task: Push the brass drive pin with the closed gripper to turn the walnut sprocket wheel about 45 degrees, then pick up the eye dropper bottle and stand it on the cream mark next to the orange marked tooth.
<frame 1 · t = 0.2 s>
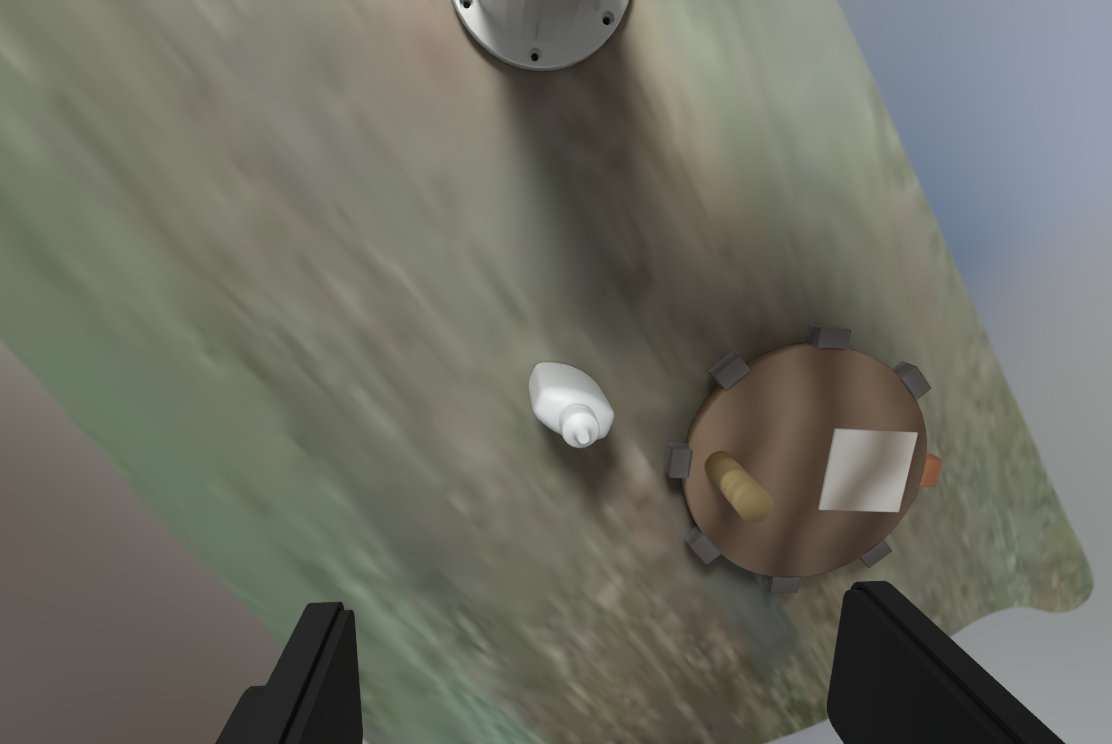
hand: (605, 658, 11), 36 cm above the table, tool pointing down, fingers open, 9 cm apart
eye dropper bottle: (563, 384, 47), on the table
sprocket: (826, 482, 45), point 6 cm above the table, hinge at 0.0°
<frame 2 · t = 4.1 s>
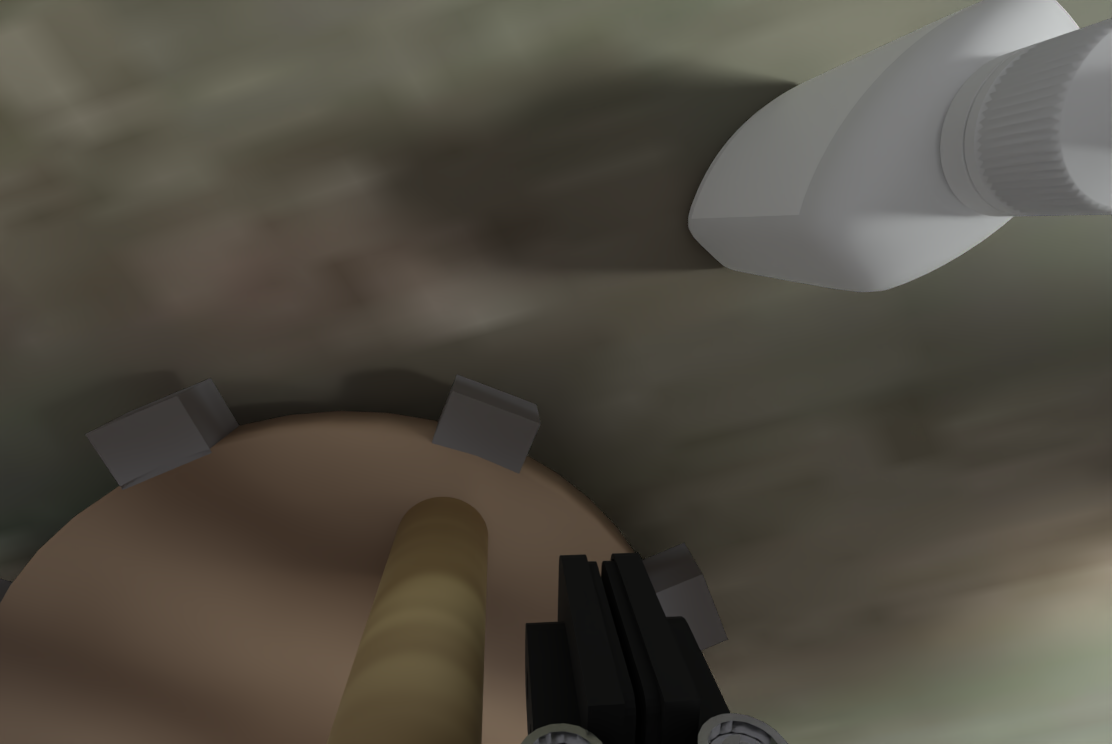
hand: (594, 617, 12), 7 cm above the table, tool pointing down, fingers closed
eye dropper bottle: (763, 179, 18), on the table
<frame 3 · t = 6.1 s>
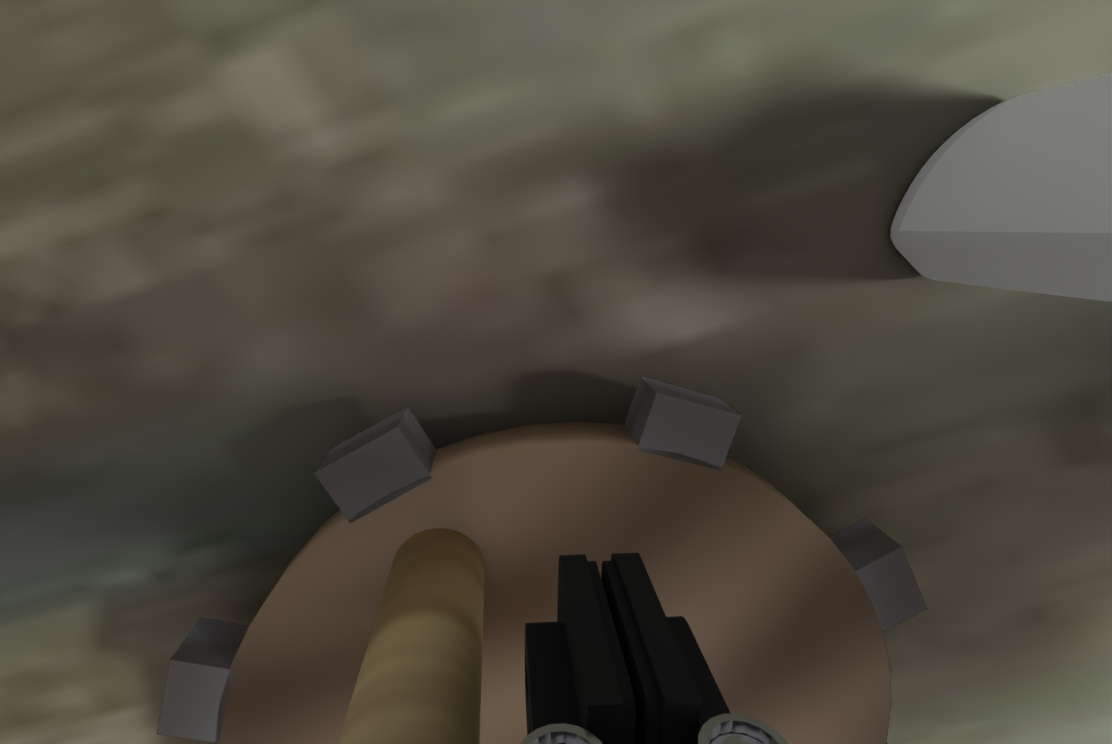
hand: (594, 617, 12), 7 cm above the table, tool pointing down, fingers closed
eye dropper bottle: (959, 191, 18), on the table
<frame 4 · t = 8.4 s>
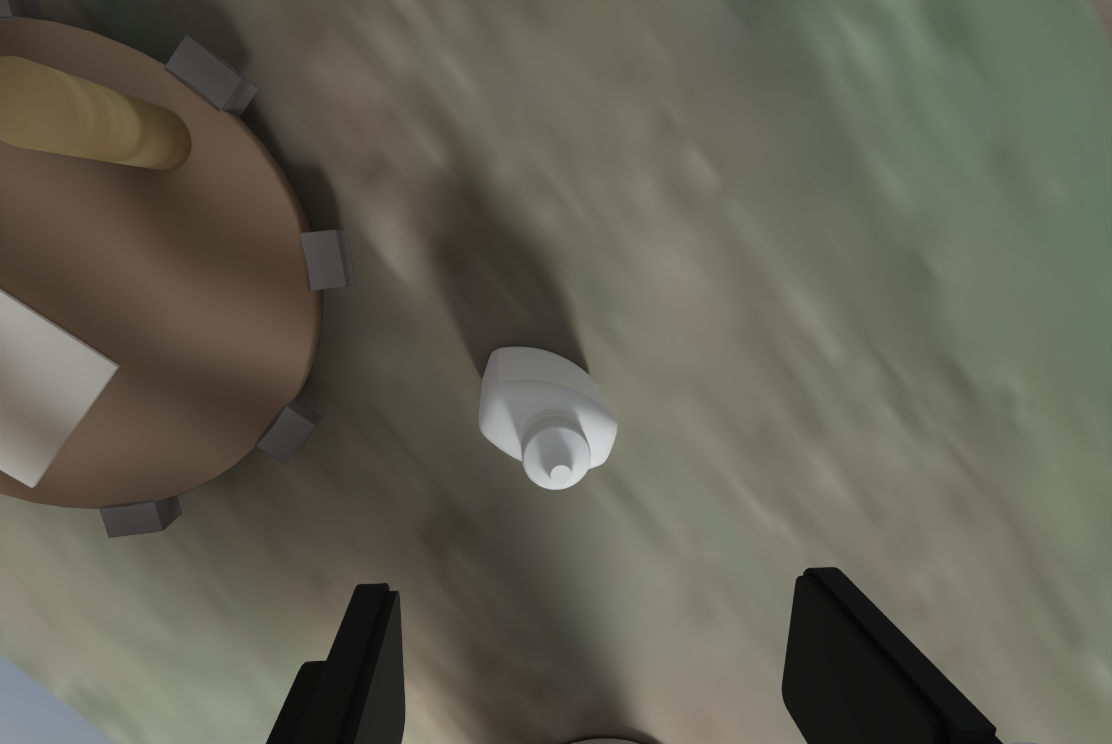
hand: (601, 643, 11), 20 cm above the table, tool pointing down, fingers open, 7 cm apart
eye dropper bottle: (537, 379, 31), on the table
sprocket: (8, 294, 22), point 6 cm above the table, hinge at 51.6°
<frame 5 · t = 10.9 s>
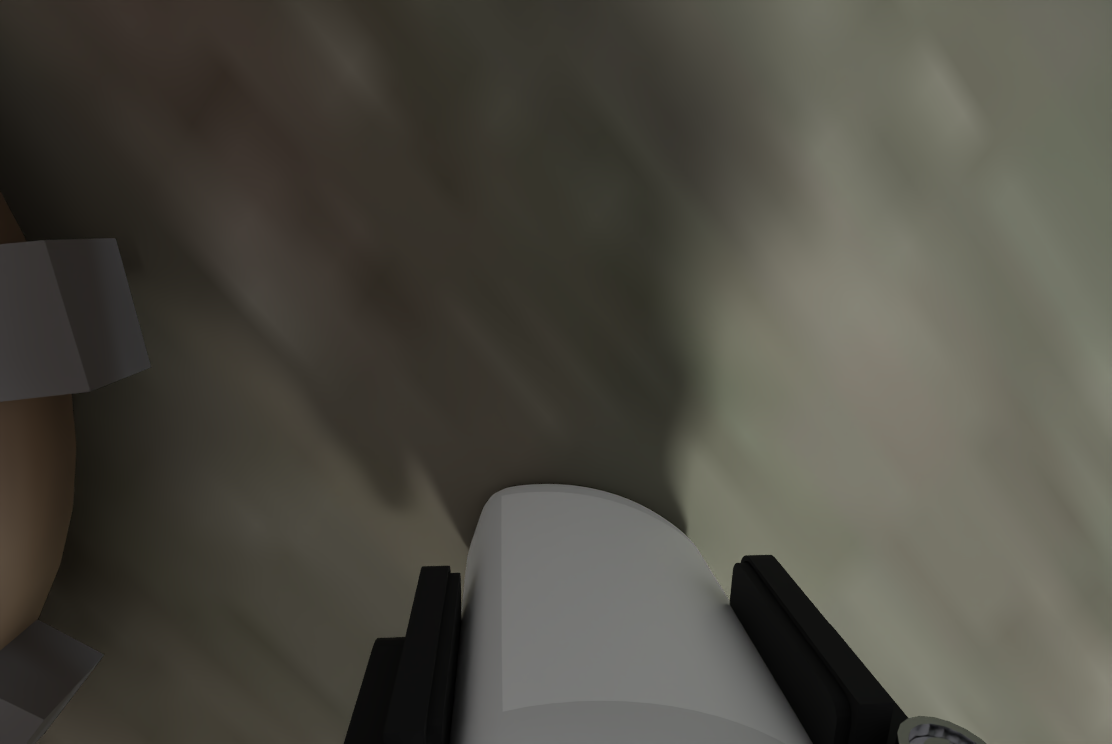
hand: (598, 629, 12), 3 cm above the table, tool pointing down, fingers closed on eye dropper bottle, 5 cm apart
eye dropper bottle: (581, 543, 15), on the table, touching gripper
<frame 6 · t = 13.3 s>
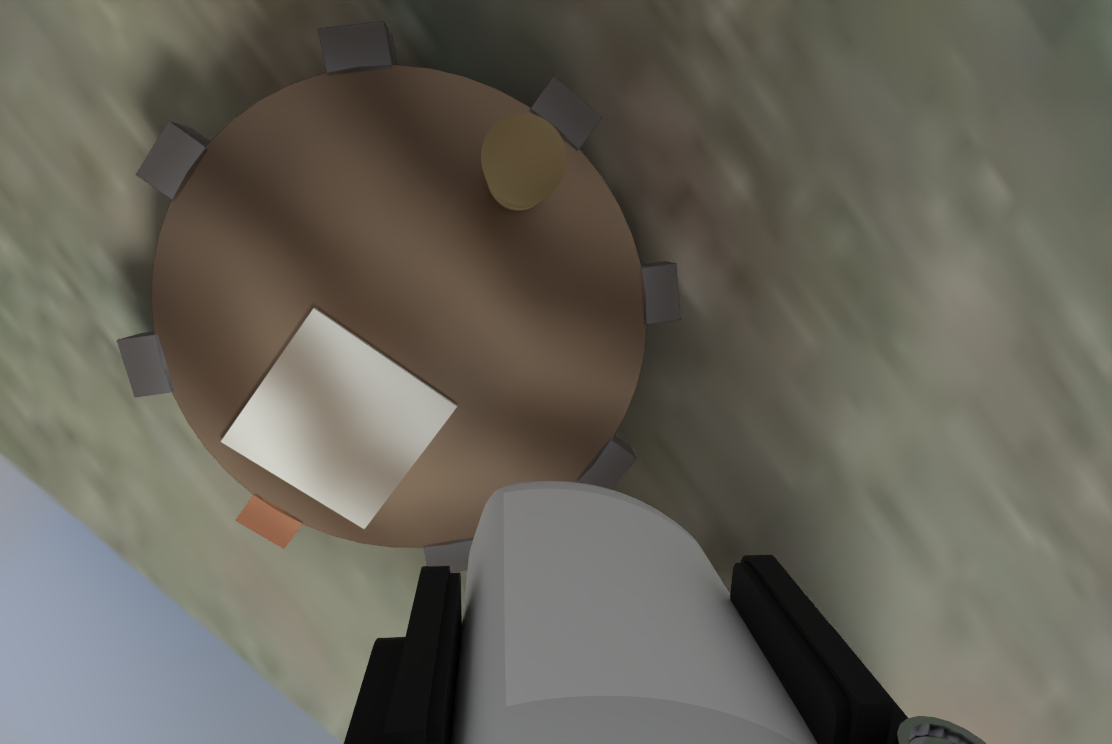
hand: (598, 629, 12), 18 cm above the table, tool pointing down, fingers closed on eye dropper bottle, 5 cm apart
eye dropper bottle: (583, 541, 15), point 14 cm above the table, touching gripper
sprocket: (397, 341, 22), point 6 cm above the table, hinge at 51.6°
when the fingers open (8 cm above the table, at t = 16.1 s): eye dropper bottle drops 1 cm, resting on sprocket.
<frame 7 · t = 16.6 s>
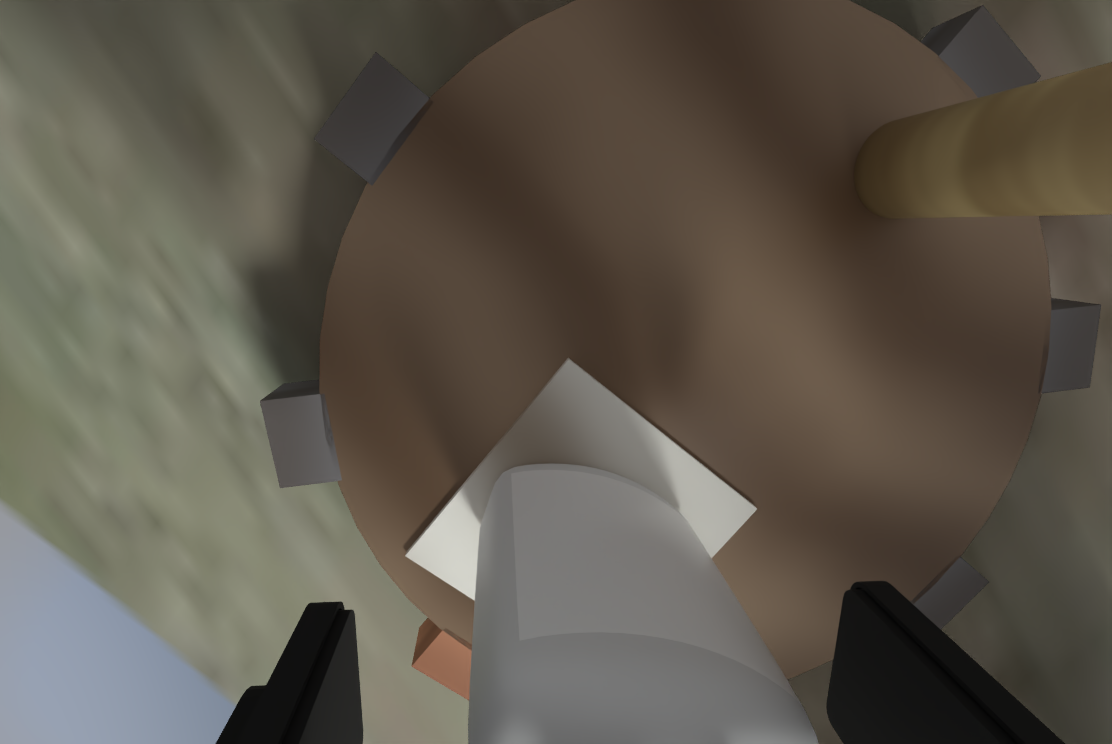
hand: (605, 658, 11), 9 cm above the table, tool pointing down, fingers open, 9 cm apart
eye dropper bottle: (583, 519, 16), point 3 cm above the table, touching sprocket
sprocket: (741, 426, 13), point 6 cm above the table, hinge at 51.6°, touching eye dropper bottle
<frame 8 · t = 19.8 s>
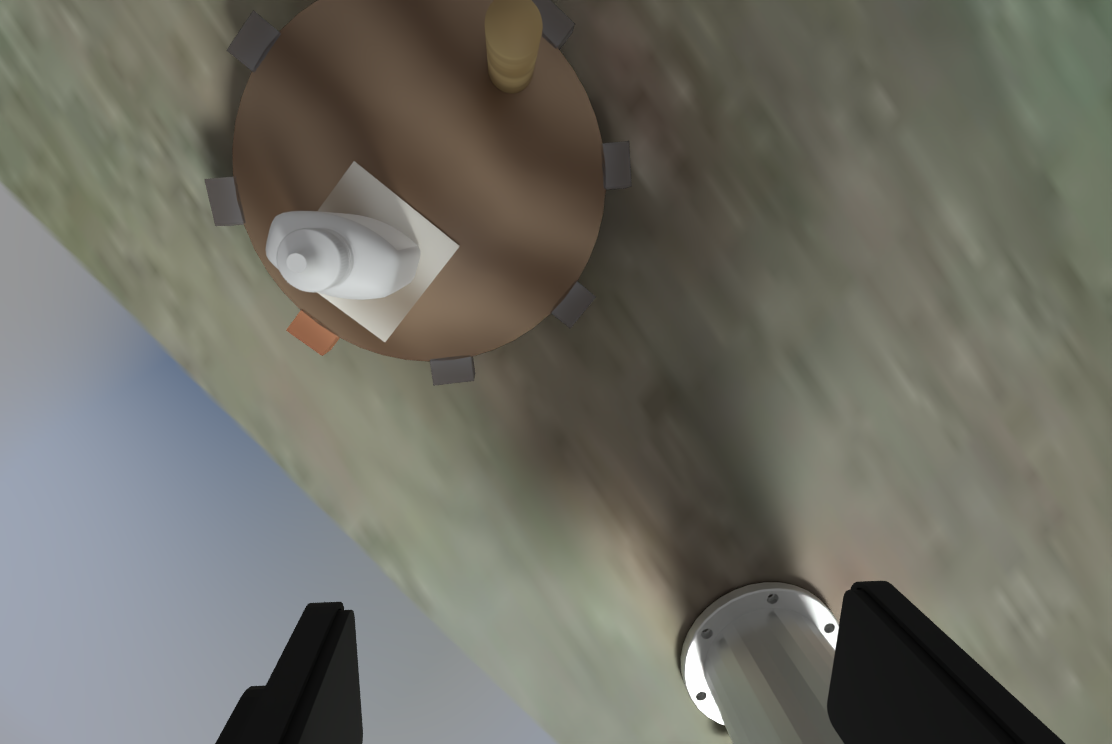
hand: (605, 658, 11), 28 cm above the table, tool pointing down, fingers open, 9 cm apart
eye dropper bottle: (370, 249, 33), point 3 cm above the table, touching sprocket
sprocket: (418, 179, 29), point 6 cm above the table, hinge at 51.6°, touching eye dropper bottle
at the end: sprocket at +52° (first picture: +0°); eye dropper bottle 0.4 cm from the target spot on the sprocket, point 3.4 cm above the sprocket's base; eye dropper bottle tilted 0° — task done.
